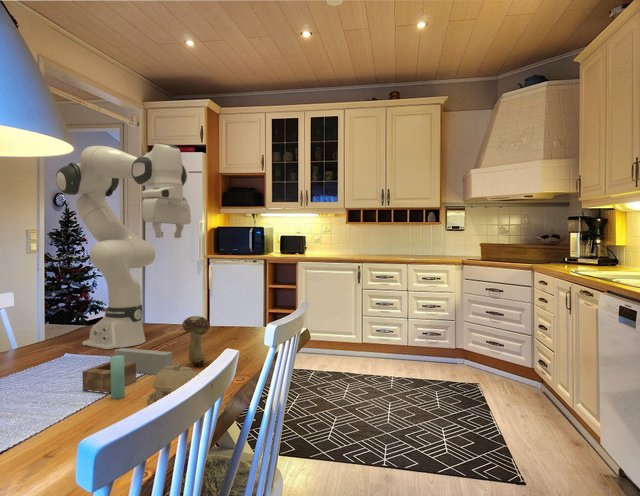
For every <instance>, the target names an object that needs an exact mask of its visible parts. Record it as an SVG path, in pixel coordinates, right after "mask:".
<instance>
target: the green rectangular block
mask: <svg viewBox="0 0 640 496" xmlns="http://www.w3.org/2000/svg"><path fill="white" fill-rule="evenodd" d="M110 361H111V393H110V397H111V398H110V399H111V400H120V399H123V398H125V397H126V396H125V395H126V394H125V387H126V386H125V384H124V356H123V355H116V356H114V355H112V356H111V357H110Z"/></svg>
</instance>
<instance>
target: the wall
mask: <svg viewBox="0 0 640 496" xmlns="http://www.w3.org/2000/svg"><path fill="white" fill-rule="evenodd" d="M116 355H123V356H124V362H133V363H136V372H141V373H140V374H143V373H146V374H145V375H155V376H156V375H157V373H158V372H160V371H161V370H162V369H163V368H164V367H165V366H173V352H172V351H163V350H162V351H161V350H152V349H138V348H130V347H129V348H128V347H119V348H116V349H115V350H113V356H116Z"/></svg>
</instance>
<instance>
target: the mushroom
mask: <svg viewBox="0 0 640 496" xmlns="http://www.w3.org/2000/svg"><path fill="white" fill-rule="evenodd" d="M181 325H182V328H183V329H184V330H185V332H188V333H189V334H190V344H189V349H188V359H189V362H191V364H193V365H194V366H195V367H200V366H202V365H203V364H204V363H205V356H204V353H203V350H202V345H201V344H202V336H203V335H205V334H206V333H208V331H210V329H211V323H210V322H209V320H208V319H206V317H203V316H201V315H199V316H198V315H194V316H193V315H192V316H189V317H187V318H186V319H184V320H183V322H182V323H181ZM183 329H182V330H183Z"/></svg>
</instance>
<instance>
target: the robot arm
mask: <svg viewBox="0 0 640 496" xmlns="http://www.w3.org/2000/svg"><path fill="white" fill-rule="evenodd" d="M79 161H80V162H78V163H74V162H70V163H68V164H67V165H65V166H62V167H61V168H59V170H58V171H57V172H56V174H55V183H56V186H57V187H58V189H59V191H60V192H61V193H62V194H65V195H71V196H75V195H80V196H78V197H77V199H76V201H75V205H76V209H77V211H78V214H79V216H80V218H81V220H82V222H83V224H84V225H85V226H86V228H87V230H88V231H89V232H90V234H91V236H92V237H93V238H94V239H95V240H96V241H97V242H95V243H94V244H93V245H92V246H91V248H90V251H89V260H90V263H91V264H92V265H93V267H95V268H96V269H97V270H98V271H100V273H101V274H102V276H103V278H104V279H105V283H106V285H107V286H106V287H107V295H108V306H107V307H105V308H102V310H103V311H102V312H103V313H104V317H102V318H100V320H99V321H98V322H96V323H95V324H93V326H92V327H91V328H90V330H89V338H88V339H86V340H84V341H82V343H81V345H82V346H86V345H87V346H89V347H93V348H97V349H104V350H111V349H120V348H128V347H129V348H130V347H133V346H139V345H141V344H144V343H146V341H147V340H146V335H145V332H144V325H143V321H142V318H143V304H142V301H141V300H142V292H141V291H142V287H141V284H140V282H139V281H138V280H136V279H135V278H133V276H132V274H131V271H130V269H139V268H140V269H141V268H142V267H143V268H144V267H146V266H149V265H151V264H152V263H153V262H154V260H155V259H156V249H155V247H154V245H153V244H152V243H151V242H149V241H147V240H144V239H142V238H141V237H140V236H138V235H137V234H135V233H134V232H133V231H132V230H131V229H129V228H128V227H127V226H125V224H123V222H122V221H121V220H120V218H119V217H118V216H117V215H116V213H115V212H114V210H113V208H111V207H112V206H110V205H109V204H108V202H107V200H106V197H111V196H112V195H113V194H114V192H115V191H116V190H117V188H118V186H119V184H120V179H133V180H134V182H135V183H136V184H137V185H141V186H144V187H150V188H149V189H146V190H143V191H142V192H141V196H142V198H143V199H142V204H141V205H142V207H141V210H142V211H141V212H142V220H143V221H144V222H145V223H152V228H153V231H154V232H155V238H158V239H159V238H164V231H162V228H161V226H162V224H169V225H175V228H176V230H175V232H173V235H174V236H173V237H174V238H175V239H181V238H182V232H183V230H184V225H190V224H191V221H192V218H191V217H192V216H191V207H190V204H189V202H188V200H187V199H186V197H184V195H183V194H184V193H183V192H184V191H183V188H184V187H183V186H185V184H186V182H187V179H188V174H187V173H188V172H187V171H186V168H185V166H184V165H183V160H182V153H181V150H180V148H179V147H177V146H176V145H173V144H170V143H169V144H167V143H164V142H162V143H161V142H157V143H155V144H154V145H153V147H152V149H151V150H150V151H149V152H147V154H145V155H143V156H139V157H137V156H134V155H132V154H129V153H127V152H125V151H123V150H120V149H117V148H114V147H112V146H106V145H92V146H88V147H86V148H84V149H83V150H82V152H81V154H80V160H79Z"/></svg>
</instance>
